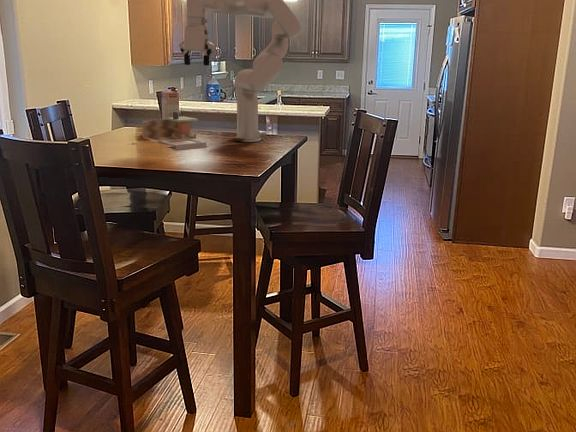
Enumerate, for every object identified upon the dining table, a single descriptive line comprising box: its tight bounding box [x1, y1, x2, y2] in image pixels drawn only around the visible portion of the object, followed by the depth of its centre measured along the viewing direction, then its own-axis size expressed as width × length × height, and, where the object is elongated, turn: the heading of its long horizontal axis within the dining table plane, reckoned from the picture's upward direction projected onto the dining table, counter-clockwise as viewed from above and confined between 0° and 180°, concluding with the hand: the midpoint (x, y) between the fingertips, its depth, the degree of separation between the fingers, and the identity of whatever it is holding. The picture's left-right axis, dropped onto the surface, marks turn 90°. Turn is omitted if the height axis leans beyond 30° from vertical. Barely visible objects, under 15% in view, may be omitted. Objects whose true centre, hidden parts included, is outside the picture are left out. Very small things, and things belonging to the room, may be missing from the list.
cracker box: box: [160, 90, 180, 120], centre depth 264 cm, size 14×6×21 cm, turn 22°
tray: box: [160, 138, 207, 151], centre depth 236 cm, size 14×14×2 cm
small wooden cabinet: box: [141, 119, 200, 145], centre depth 249 cm, size 22×13×9 cm, turn 129°
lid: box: [165, 112, 199, 122], centre depth 250 cm, size 10×13×4 cm
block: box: [177, 121, 191, 134], centre depth 251 cm, size 4×4×7 cm
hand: (196, 65), depth 236 cm, fingers open, 9 cm apart
